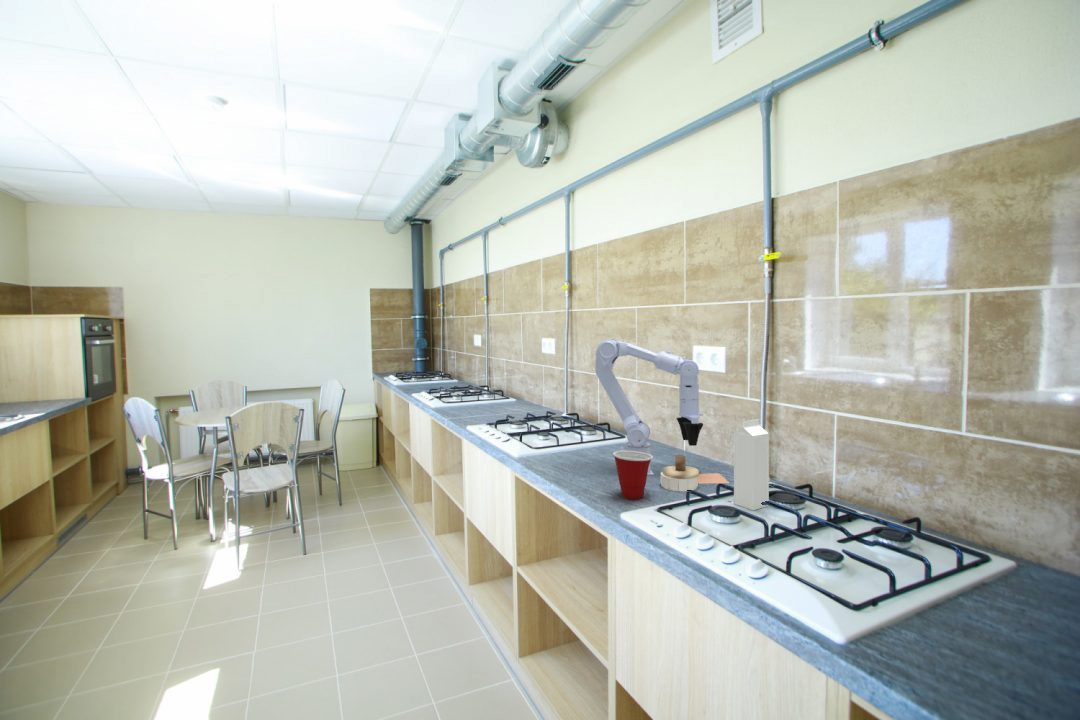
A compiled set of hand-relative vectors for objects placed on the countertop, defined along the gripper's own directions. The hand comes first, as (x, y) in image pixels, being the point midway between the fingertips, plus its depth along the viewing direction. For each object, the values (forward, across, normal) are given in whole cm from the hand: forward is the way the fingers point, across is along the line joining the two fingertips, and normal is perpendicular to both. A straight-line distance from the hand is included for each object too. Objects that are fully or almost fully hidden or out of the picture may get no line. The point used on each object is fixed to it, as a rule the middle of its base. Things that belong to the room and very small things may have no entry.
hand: (689, 442), depth 158 cm
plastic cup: (+11, -19, +20) cm, 30 cm away
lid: (+6, -12, +6) cm, 15 cm away
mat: (+10, -5, -4) cm, 12 cm away
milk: (+11, -27, -9) cm, 30 cm away
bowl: (+10, -12, +6) cm, 17 cm away
